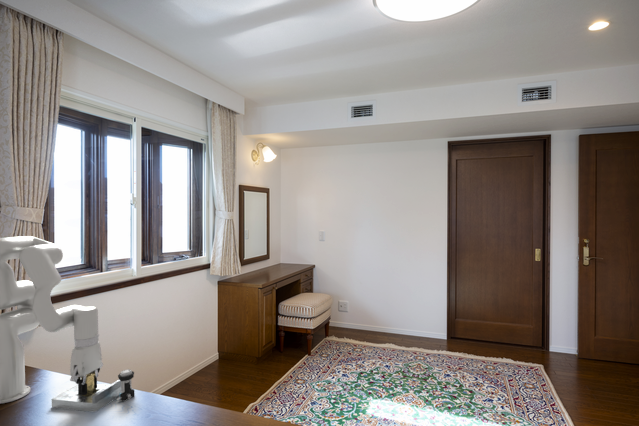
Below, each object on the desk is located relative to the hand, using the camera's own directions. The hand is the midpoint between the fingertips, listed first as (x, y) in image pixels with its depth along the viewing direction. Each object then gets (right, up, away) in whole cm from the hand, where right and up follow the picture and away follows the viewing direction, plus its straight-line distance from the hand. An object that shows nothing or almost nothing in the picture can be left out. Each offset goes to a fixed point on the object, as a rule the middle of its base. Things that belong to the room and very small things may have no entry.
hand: (87, 390), depth 138 cm
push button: (+13, -3, 0) cm, 14 cm away
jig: (0, -4, 0) cm, 4 cm away
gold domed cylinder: (0, -2, 0) cm, 2 cm away
